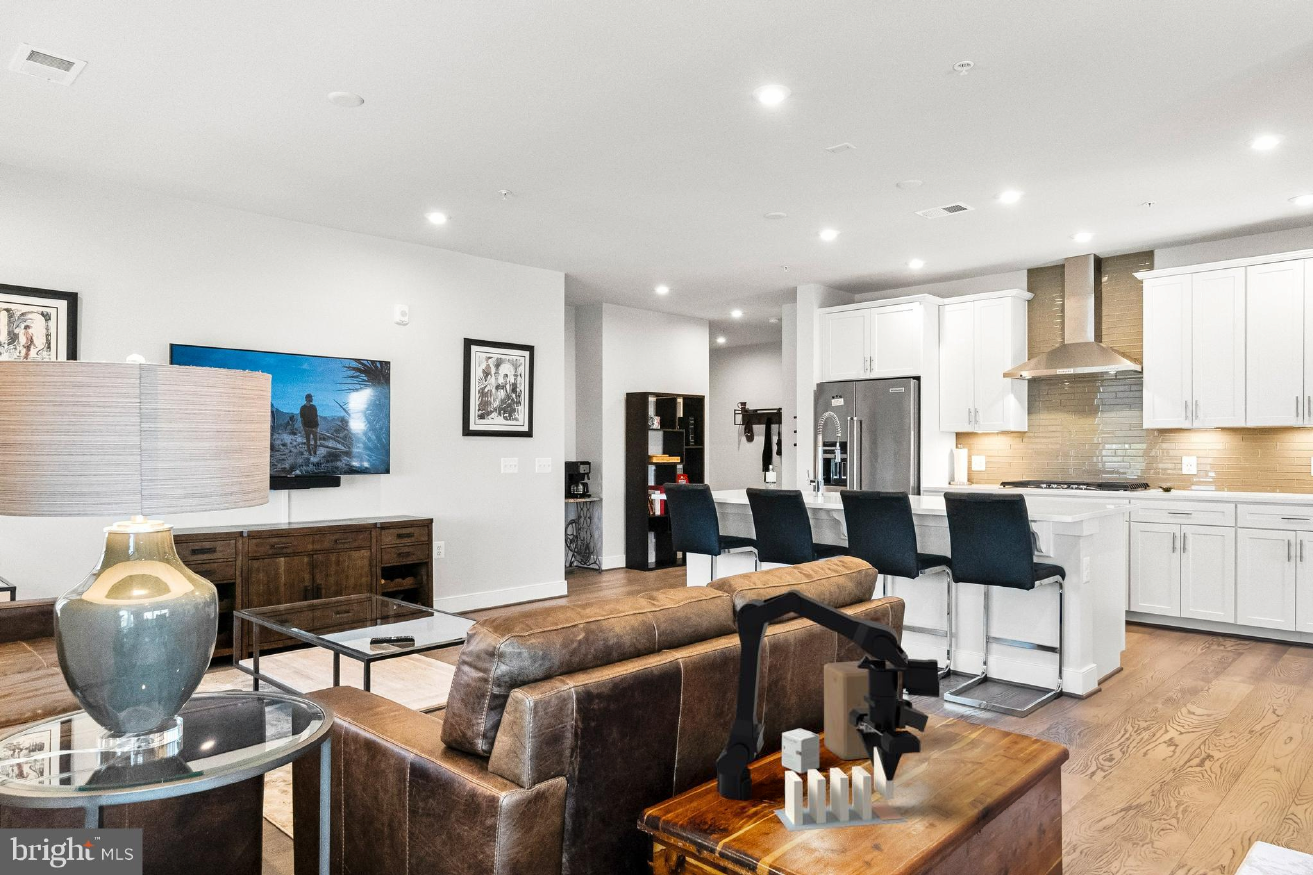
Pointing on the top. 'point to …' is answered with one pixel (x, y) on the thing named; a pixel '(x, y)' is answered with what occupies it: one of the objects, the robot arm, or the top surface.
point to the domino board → (879, 816)
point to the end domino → (882, 779)
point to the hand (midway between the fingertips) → (883, 775)
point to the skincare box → (800, 750)
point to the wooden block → (844, 708)
